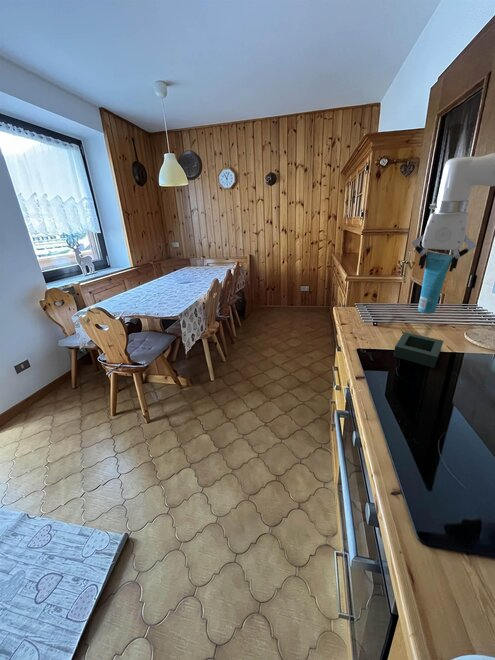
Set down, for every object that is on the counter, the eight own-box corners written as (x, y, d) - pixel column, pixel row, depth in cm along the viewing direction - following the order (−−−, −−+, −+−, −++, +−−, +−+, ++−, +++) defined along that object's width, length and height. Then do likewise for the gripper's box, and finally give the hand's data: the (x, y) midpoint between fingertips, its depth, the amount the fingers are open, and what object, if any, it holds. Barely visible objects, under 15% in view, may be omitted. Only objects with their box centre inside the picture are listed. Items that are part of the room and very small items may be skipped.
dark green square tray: (439, 352, 100) (443, 340, 98) (433, 369, 92) (437, 356, 89) (401, 343, 107) (404, 331, 105) (392, 358, 99) (395, 346, 96)
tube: (441, 311, 93) (456, 253, 85) (435, 316, 91) (450, 256, 82) (417, 306, 99) (429, 250, 90) (411, 310, 96) (423, 253, 87)
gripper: (413, 209, 83) (402, 269, 91) (489, 208, 73) (469, 275, 81) (418, 207, 88) (408, 263, 96) (490, 205, 78) (471, 269, 86)
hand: (436, 268), depth 88 cm, fingers closed on tube, 7 cm apart
